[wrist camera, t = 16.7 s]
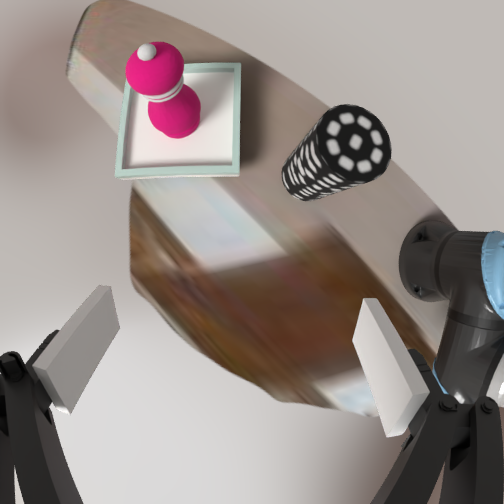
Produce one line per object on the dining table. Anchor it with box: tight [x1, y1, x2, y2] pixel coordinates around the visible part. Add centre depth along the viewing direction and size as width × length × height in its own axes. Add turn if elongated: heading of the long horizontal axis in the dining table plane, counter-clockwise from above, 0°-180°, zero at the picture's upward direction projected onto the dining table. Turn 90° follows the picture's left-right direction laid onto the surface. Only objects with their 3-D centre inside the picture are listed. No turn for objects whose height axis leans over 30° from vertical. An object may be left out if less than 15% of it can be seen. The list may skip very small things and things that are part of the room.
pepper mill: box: [126, 42, 201, 139], centre depth 30 cm, size 7×7×20 cm
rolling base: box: [115, 63, 241, 180], centre depth 41 cm, size 18×18×6 cm
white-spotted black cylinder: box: [282, 104, 391, 201], centre depth 37 cm, size 8×8×20 cm
